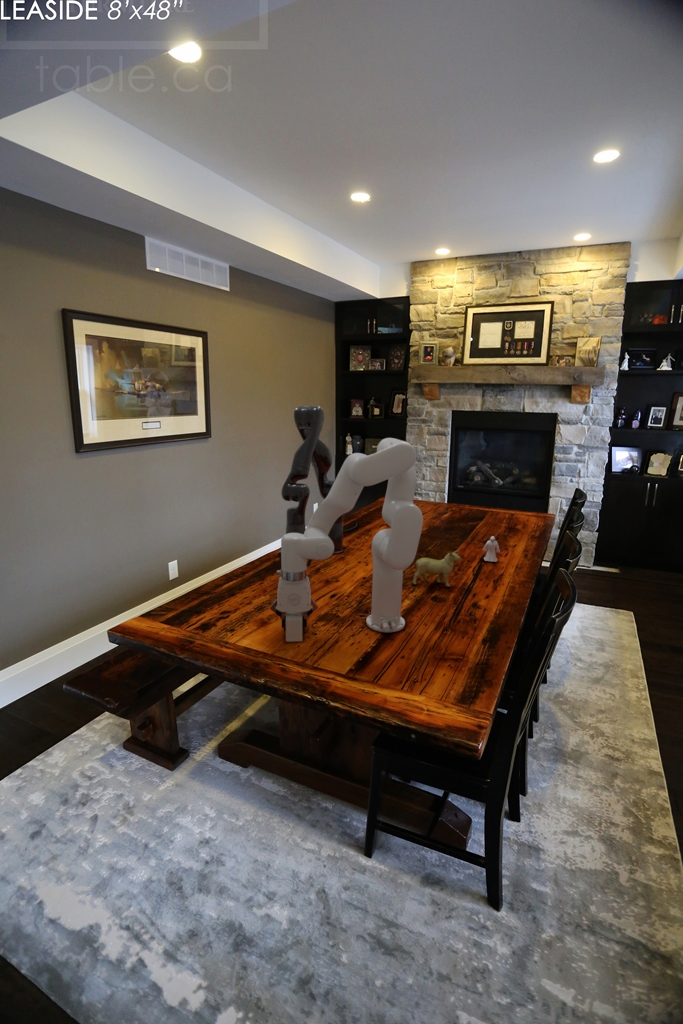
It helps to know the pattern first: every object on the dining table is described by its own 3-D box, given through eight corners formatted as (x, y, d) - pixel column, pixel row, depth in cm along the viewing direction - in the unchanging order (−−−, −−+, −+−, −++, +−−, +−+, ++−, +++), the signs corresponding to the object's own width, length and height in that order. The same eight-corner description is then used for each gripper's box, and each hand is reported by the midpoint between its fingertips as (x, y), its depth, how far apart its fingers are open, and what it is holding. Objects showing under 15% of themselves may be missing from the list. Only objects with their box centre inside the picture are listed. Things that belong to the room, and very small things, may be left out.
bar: (302, 641, 151) (302, 619, 149) (285, 641, 150) (285, 620, 149) (302, 577, 201) (302, 560, 200) (290, 577, 201) (289, 560, 199)
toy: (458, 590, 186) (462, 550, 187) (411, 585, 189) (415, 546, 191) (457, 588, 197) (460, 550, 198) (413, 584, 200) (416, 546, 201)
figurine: (481, 562, 222) (483, 536, 219) (482, 556, 230) (484, 531, 227) (499, 564, 220) (501, 538, 217) (499, 558, 228) (501, 533, 225)
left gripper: (314, 531, 196) (314, 572, 200) (277, 531, 195) (278, 572, 199) (314, 537, 189) (314, 579, 193) (276, 537, 188) (277, 579, 192)
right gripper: (264, 579, 146) (265, 635, 150) (322, 578, 147) (322, 634, 152) (266, 569, 153) (267, 624, 158) (321, 569, 154) (321, 623, 159)
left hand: (295, 575), depth 196 cm, fingers closed on bar, 5 cm apart
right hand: (294, 628), depth 155 cm, fingers closed on bar, 5 cm apart
